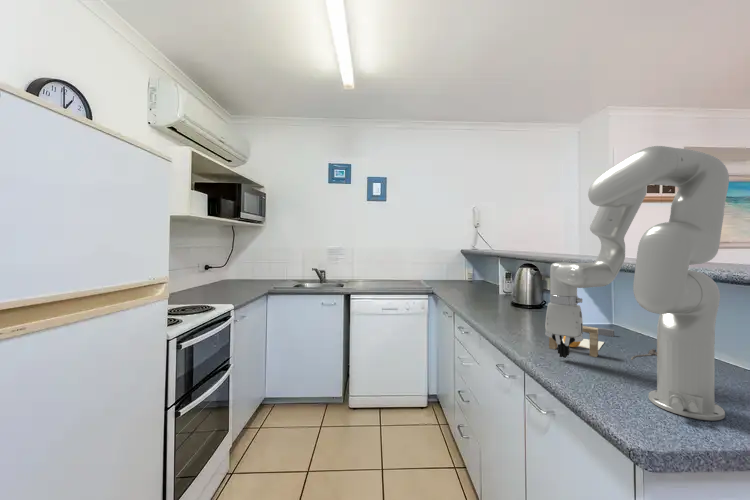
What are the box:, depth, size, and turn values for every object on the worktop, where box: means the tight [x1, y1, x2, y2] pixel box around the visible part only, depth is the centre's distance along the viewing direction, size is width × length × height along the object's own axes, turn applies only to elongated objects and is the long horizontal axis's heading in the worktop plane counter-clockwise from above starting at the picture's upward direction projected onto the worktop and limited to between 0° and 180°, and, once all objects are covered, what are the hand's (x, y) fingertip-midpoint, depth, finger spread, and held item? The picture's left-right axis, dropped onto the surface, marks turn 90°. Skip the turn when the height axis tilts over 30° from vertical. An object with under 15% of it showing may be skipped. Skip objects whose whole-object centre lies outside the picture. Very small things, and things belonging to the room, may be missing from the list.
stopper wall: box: [584, 325, 615, 338], centre depth 138 cm, size 2×16×2 cm, turn 47°
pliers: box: [630, 348, 657, 361], centre depth 108 cm, size 10×1×20 cm
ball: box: [562, 336, 581, 348], centre depth 118 cm, size 6×6×6 cm
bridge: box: [548, 325, 599, 358], centre depth 113 cm, size 3×14×9 cm, turn 47°
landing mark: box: [562, 338, 605, 351], centre depth 123 cm, size 13×13×1 cm
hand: (563, 356), depth 104 cm, fingers closed
